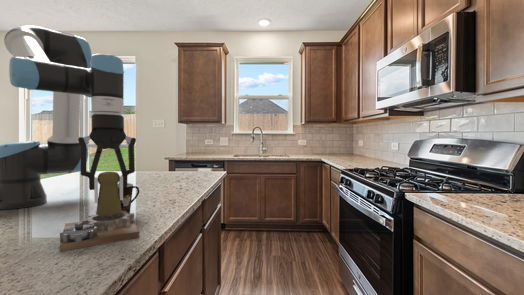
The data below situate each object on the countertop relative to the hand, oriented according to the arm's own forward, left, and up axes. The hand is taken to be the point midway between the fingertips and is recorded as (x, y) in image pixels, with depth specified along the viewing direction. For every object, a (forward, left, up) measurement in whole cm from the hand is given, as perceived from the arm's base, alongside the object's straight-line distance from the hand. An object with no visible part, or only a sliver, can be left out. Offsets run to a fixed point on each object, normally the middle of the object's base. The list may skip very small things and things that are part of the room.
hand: (108, 200), depth 72 cm
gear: (+7, -7, -6) cm, 12 cm away
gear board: (+2, -2, -8) cm, 8 cm away
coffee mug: (-12, +5, -8) cm, 15 cm away
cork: (0, 0, -3) cm, 3 cm away
